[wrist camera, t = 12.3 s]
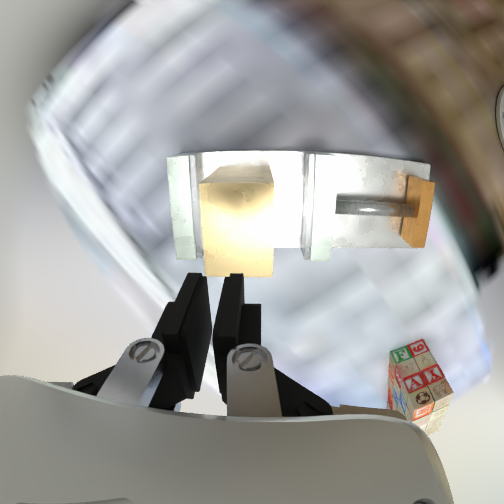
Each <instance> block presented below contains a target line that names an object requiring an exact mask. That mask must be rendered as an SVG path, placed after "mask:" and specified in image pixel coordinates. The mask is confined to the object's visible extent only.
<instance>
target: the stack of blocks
mask: <svg viewBox="0 0 504 504" xmlns="http://www.w3.org/2000/svg"><path fill="white" fill-rule="evenodd" d="M388 385H389V390H388V393H389V395H388V402H387V409H391V410H396V411H398V412H400V413H402V414H403V415H404V416H405V418H406V419H407V421H409V422H412V423H414V424H416V425H417V426H419V427H420V428H421V429H422V430H423V431H424V432H425V433H426V434H427V436H428V435H430V434H433V433H435V432H437V431H439V428H440V426H441V424H442V421H443V418H444V415H445V413H446V411H447V409H448V406H449V404H450V402H451V399H452V396H453V391H452V389H451V387H450V385H449V383H448V382H447V380H446V379H445V375H444V374H443V372H442V370H441V368H440V367H439V365H438V364H437V362H436V360H435V359H434V357H433V355H432V354H431V352H430V350H429V348H428V347H427V345H426V343H425V342H424V340H423V339H422V340H419V341H417V342H414V343H412V344H409V345H407V346H404V347H402V348H399V349H396V350H393V351H390V361H389V377H388Z"/></svg>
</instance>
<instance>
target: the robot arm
mask: <svg viewBox="0 0 504 504" xmlns="http://www.w3.org/2000/svg"><path fill="white" fill-rule="evenodd" d="M496 119H497V128H498V133H499V137H500V141H501V143H502V146H503V149H504V87H503V88H502V89H501V91H500V93H499V95H498V99H497V106H496ZM211 335H212V322H211V313H210V304H209V295H208V285H207V277H206V276H202V273H188V274H187V276H186V278H185V280H184V283H183V285H182V287H181V289H180V291H179V293H178V296H177V298H176V300H175V302H168V304H167V305H166V307H165V309H164V312H163V314H162V316H161V318H160V320H159V322H158V324H157V326H156V329H155V331H154V333H153V335H152V337H151V338H143V339H139V340H136V341H134V342H132V343H131V344H130V345H129V346H128V347H127V348H126V350H125V351H124V353H123V354H122V356H121V358H120V359H119V361H118V362H117V364H116V365H114V366H112V367H109V368H107V369H105V370H103V371H101V372H98V373H96V374H94V375H92V376H89V377H87V378H85V379H82V380H80V381H79V382H77V383H76V384H75V385H74V384H73V383H72V382H44V381H41V380H37V379H34V378H29V377H24V376H16V375H6V376H0V504H454V502H453V498H452V494H451V490H450V486H449V483H448V480H447V477H446V475H445V471H444V468H443V466H442V463H441V461H440V458H439V456H438V454H437V451H436V449H435V447H434V445H433V444H432V442H431V440H430V438H429V437H428V436H427V434H426V433H425V432H424V431H423V430H422V429H421V428H420V427H419V426H417V425H416V424H414V423H412V422H409V421H407V419H406V418H405V416H404V415H403V414H402V413H400V412H398V411H396V410H391V409H378V408H367V407H357V406H348V405H340V406H339V407H333V406H330V405H329V403H327V402H326V401H325V400H324V399H322V398H321V397H319V396H317V395H316V394H314V393H313V392H311V391H309V390H308V389H306V388H305V387H303V386H302V385H300V384H298V383H297V382H295V381H294V380H292V379H291V378H289V377H288V376H286V375H285V374H283V373H282V372H280V371H279V370H277V369H276V368H274V365H273V360H272V356H271V353H270V352H269V351H268V350H267V349H266V348H265V347H263V346H261V304H244V275H243V273H230V277H225V279H224V284H223V288H222V292H221V297H220V301H219V306H218V310H217V315H216V319H215V324H214V328H213V337H212V340H213V349H214V357H215V364H216V371H217V378H218V384H219V391H220V393H221V394H222V401H223V402H224V403H225V404H227V416H216V415H205V414H194V413H184V412H179V411H180V408H181V401H182V400H184V399H186V398H187V399H193V398H194V394H195V392H199V391H200V387H201V382H202V377H203V372H204V368H205V363H206V358H207V353H208V349H209V344H210V340H211Z"/></svg>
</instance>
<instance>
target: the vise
mask: <svg viewBox="0 0 504 504" xmlns="http://www.w3.org/2000/svg"><path fill="white" fill-rule="evenodd" d="M305 152H313V153H331V154H333V155H336V156H339V157H338V178H337V194H336V200H354V201H373V202H389V203H403V204H406V197H407V188H408V179H409V175H410V176H417V177H422V178H425V179H427V180H429V174H430V164H426V163H422V162H416V161H409V160H402V159H395V158H387V157H378V156H369V155H359V154H347V153H334V152H317V151H292V150H232V151H206V152H189V153H179V154H176V155H173V156H170V157H167V169H168V183H169V195H170V206H171V216H172V225H173V234H174V242H175V250H176V258H177V260H196V259H197V258H202V257H203V254H204V250H203V237H202V223H201V207H200V189H199V183H200V182H201V181H203V180H204V179H205V178H206V177H207V176H208V175H209V174H211V173H212V172H213V171H214V170H215V169H216V168H217V167H229V166H270V168H271V171H272V175H273V178H274V182H275V195H274V241H273V248H301V242H302V224H303V203H304V174H305ZM403 219H404V217H392V216H370V215H342V214H335V220H334V231H333V241H332V248H412V247H411V246H410V245H409V244H408V243H407V242H406V241H405V240H403V239H402V238H401V231H402V225H403Z"/></svg>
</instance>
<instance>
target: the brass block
mask: <svg viewBox="0 0 504 504" xmlns="http://www.w3.org/2000/svg"><path fill="white" fill-rule="evenodd" d="M199 189H200V207H201V223H202V237H203V250H204V262H205V273H206V276H220V277H230V273H243V275H244V277H272V275H273V241H274V195H275V182H274V178H273V175H272V171H271V168H270V166H229V167H217V168H216V169H215V170H214V171H213V172H212V173H211V174H209V175H208V176H207V177H206V178H205V179H204V180H203V181H201V182H200V183H199Z"/></svg>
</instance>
